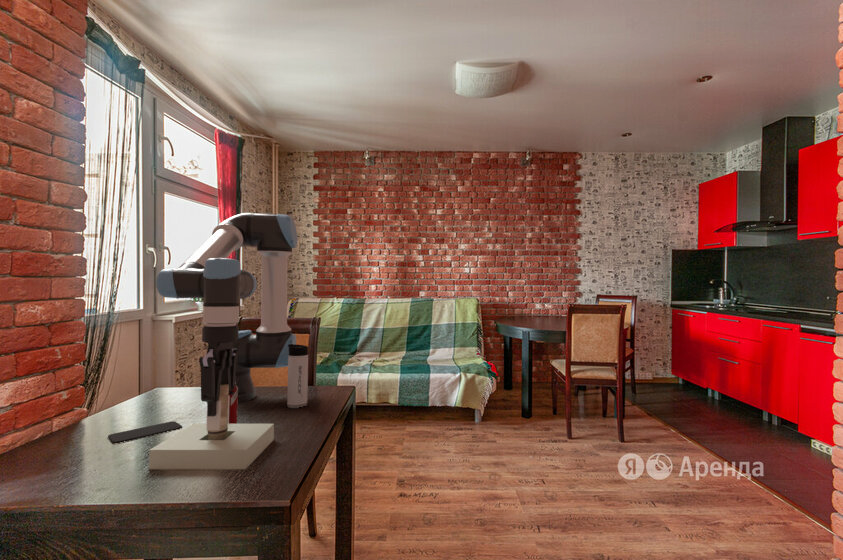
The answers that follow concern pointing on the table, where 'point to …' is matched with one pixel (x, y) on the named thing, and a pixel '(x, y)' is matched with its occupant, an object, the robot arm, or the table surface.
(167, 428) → the phone
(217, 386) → the robot arm
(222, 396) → the peg
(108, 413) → the table surface
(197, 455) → the board
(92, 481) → the table surface
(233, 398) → the soda can
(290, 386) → the travel mug
